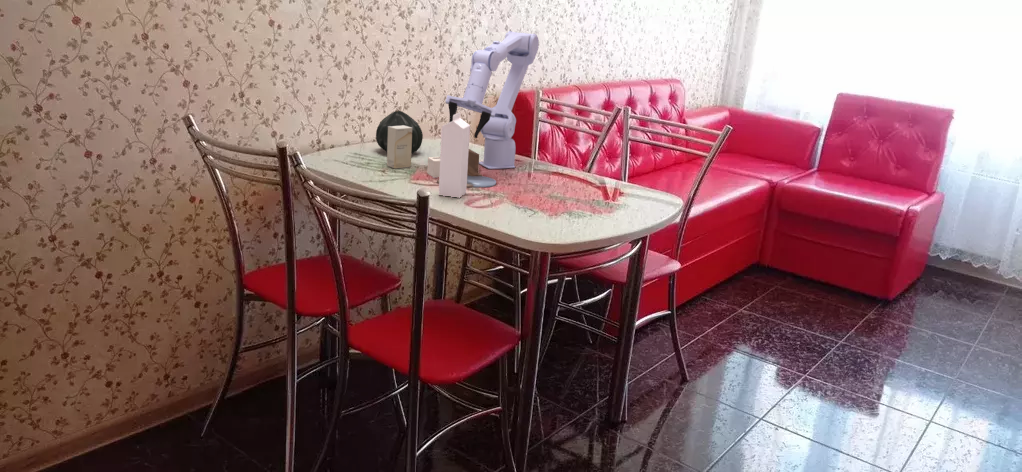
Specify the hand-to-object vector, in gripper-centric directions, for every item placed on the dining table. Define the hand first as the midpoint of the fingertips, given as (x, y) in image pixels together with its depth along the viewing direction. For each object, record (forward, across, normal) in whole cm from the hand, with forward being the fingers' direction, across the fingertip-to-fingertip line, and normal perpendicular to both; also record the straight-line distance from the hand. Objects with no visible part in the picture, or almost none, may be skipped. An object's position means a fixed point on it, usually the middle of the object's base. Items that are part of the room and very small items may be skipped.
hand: (462, 133), depth 211 cm
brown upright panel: (+7, +4, +15) cm, 17 cm away
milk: (+19, +3, -7) cm, 21 cm away
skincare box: (+11, -17, +17) cm, 26 cm away
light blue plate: (+11, +8, +6) cm, 15 cm away
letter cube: (+12, -4, +11) cm, 16 cm away
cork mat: (+14, +2, +2) cm, 15 cm away
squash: (+3, -20, +33) cm, 39 cm away
